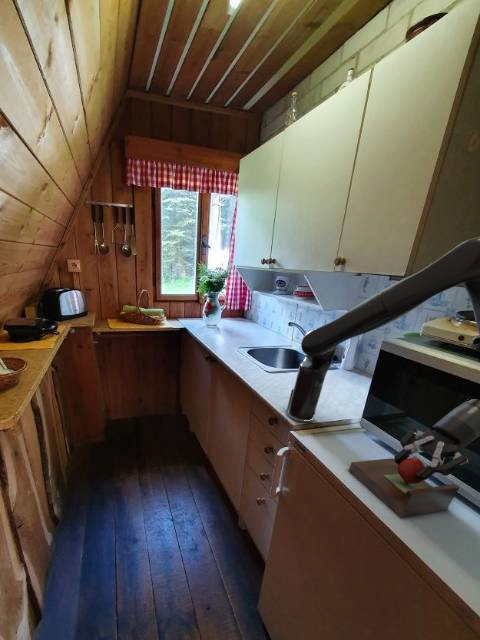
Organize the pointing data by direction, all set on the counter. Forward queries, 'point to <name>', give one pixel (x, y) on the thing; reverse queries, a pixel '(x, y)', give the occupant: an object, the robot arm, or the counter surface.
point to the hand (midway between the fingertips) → (406, 469)
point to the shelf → (401, 488)
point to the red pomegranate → (410, 470)
